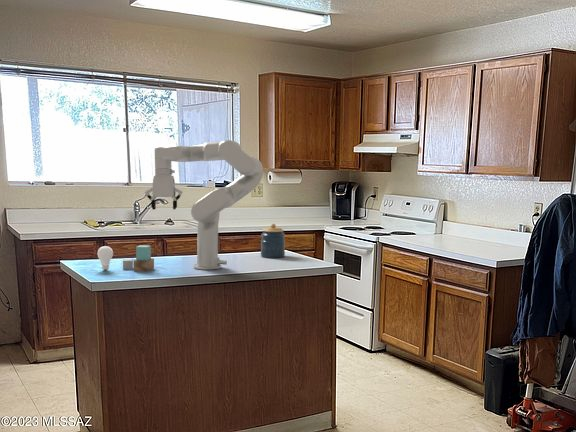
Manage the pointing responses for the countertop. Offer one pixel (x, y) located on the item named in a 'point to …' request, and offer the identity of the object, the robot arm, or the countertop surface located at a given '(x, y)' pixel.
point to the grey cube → (128, 264)
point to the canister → (272, 242)
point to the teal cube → (143, 252)
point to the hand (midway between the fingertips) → (164, 209)
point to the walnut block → (144, 265)
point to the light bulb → (105, 256)
